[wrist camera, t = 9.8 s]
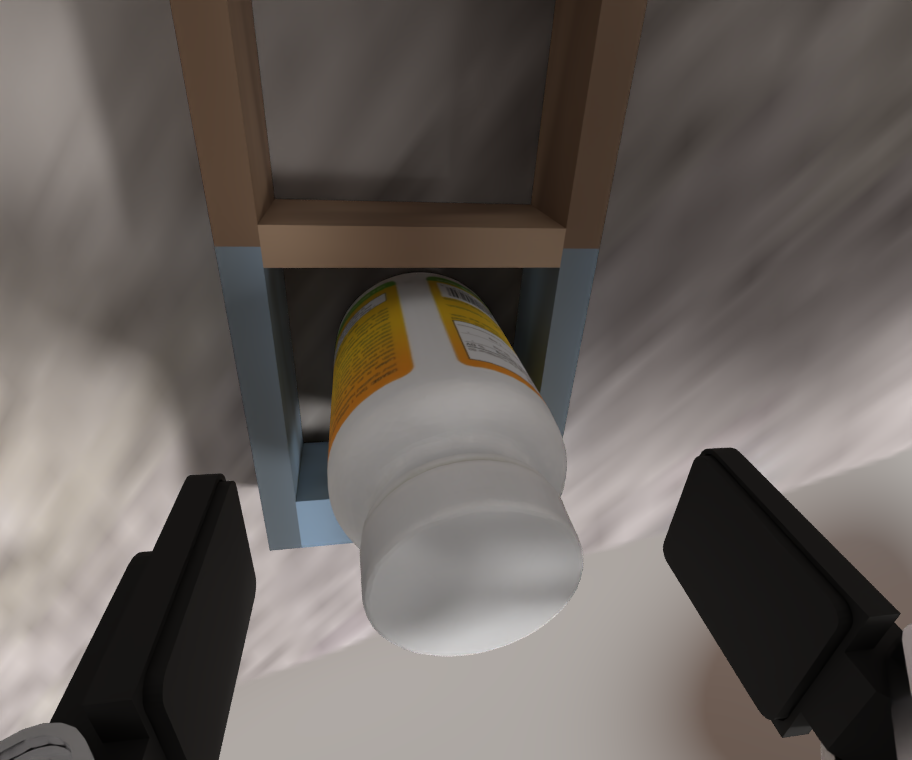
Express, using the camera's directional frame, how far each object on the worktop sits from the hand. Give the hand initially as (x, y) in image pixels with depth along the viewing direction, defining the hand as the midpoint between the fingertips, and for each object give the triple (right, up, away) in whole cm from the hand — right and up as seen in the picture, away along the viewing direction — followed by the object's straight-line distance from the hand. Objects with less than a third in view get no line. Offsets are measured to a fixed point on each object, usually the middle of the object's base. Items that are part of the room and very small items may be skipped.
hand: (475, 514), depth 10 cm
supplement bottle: (-2, +4, +7) cm, 8 cm away
